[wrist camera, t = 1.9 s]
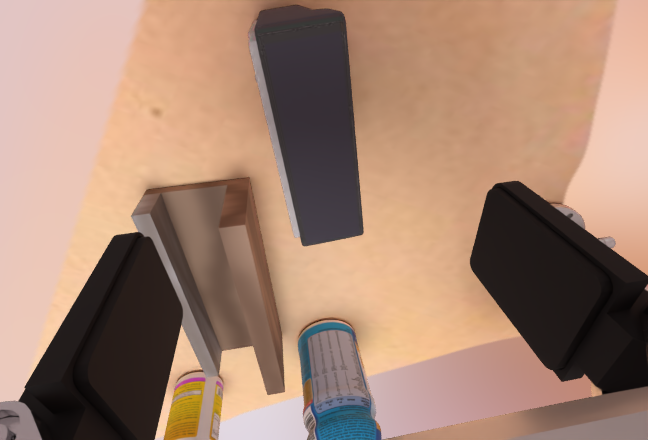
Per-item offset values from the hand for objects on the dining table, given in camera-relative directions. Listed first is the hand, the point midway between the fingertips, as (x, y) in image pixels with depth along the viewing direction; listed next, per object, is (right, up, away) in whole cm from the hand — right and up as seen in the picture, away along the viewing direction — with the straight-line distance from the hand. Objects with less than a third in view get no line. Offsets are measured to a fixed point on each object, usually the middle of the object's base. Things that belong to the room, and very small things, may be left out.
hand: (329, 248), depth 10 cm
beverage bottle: (0, -16, +38) cm, 41 cm away
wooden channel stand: (-12, -6, +29) cm, 32 cm away
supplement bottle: (-18, -23, +40) cm, 49 cm away
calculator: (-3, +12, +19) cm, 22 cm away
